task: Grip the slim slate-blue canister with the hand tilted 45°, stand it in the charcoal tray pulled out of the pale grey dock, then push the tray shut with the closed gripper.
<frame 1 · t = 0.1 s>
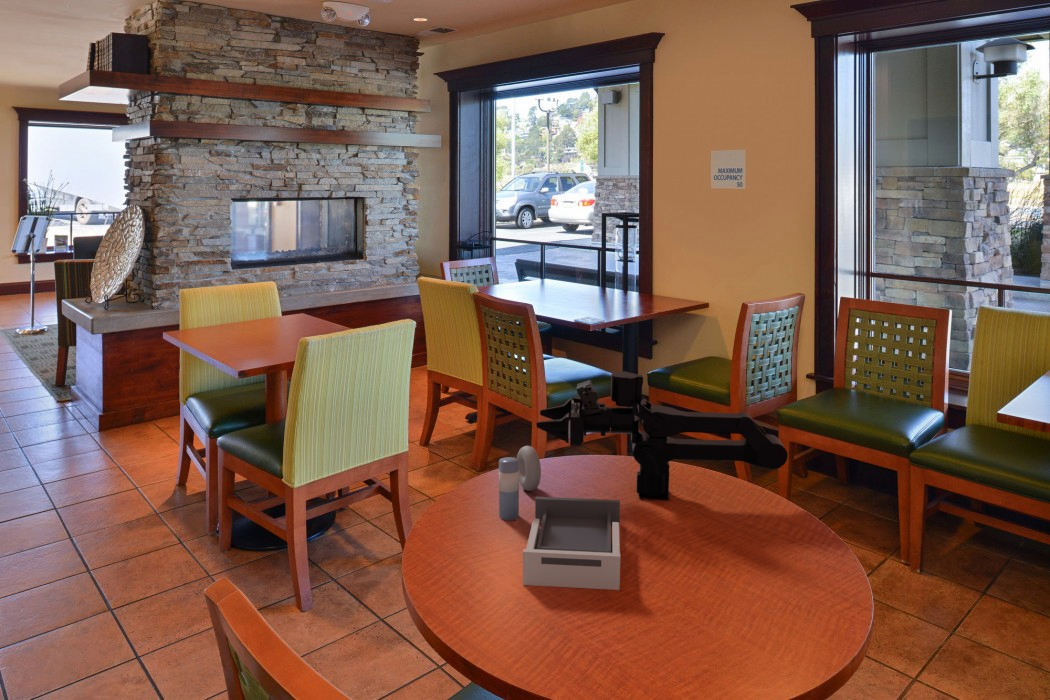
hand: (538, 418, 172), 17 cm above the table, tool horizontal, fingers open, 9 cm apart
dock: (573, 559, 142), on the table
canister: (509, 516, 161), on the table
donut: (528, 490, 176), on the table
tray: (575, 528, 149), point 3 cm above the table, slide at 7.0 cm
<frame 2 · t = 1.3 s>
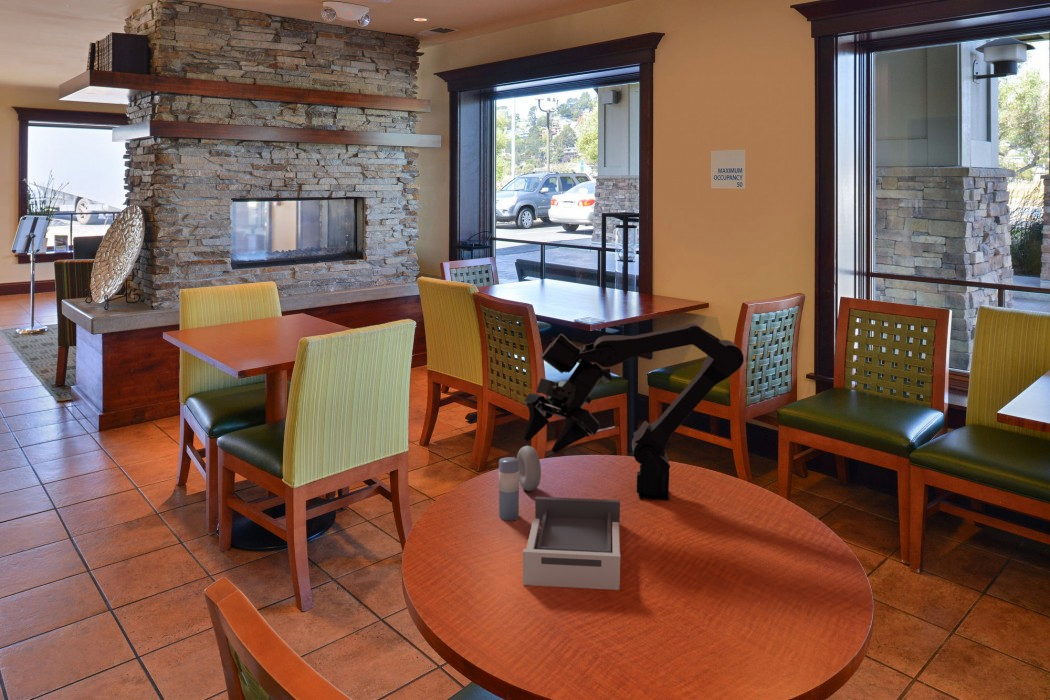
hand: (538, 446, 163), 13 cm above the table, tool tilted 45°, fingers open, 9 cm apart
nothing on the table moved.
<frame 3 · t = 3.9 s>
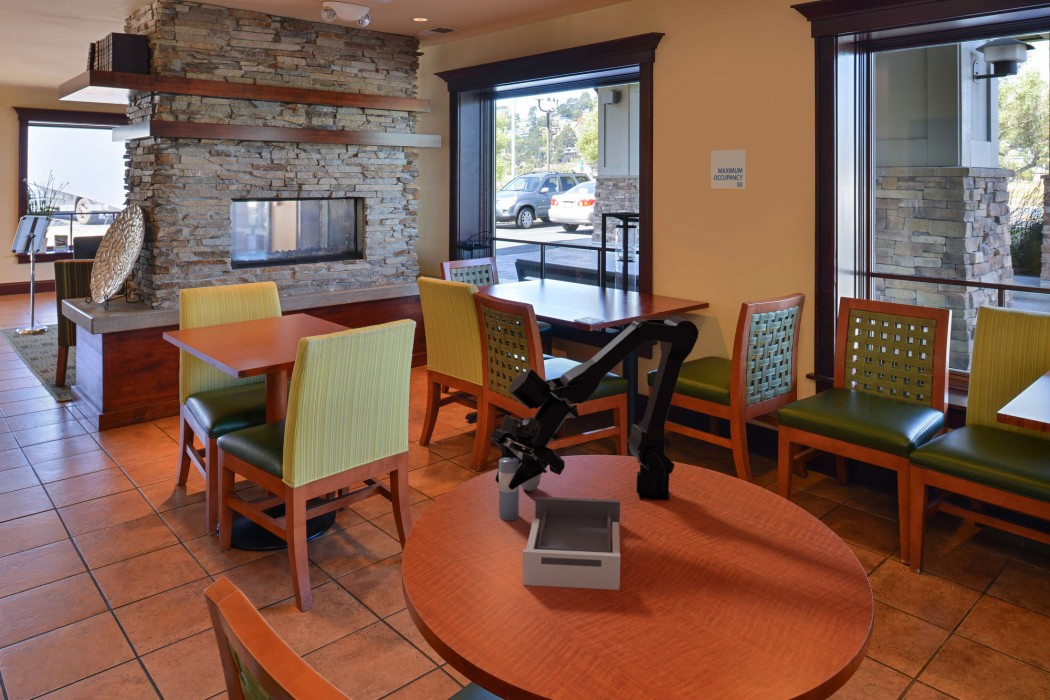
hand: (503, 485, 159), 7 cm above the table, tool tilted 45°, fingers closed on canister, 4 cm apart
canister: (509, 516, 161), on the table, touching gripper
everything else where it was.
when the fingers open (10 cm above the table, at t = 9.1 s): canister drops 1 cm, resting on tray.
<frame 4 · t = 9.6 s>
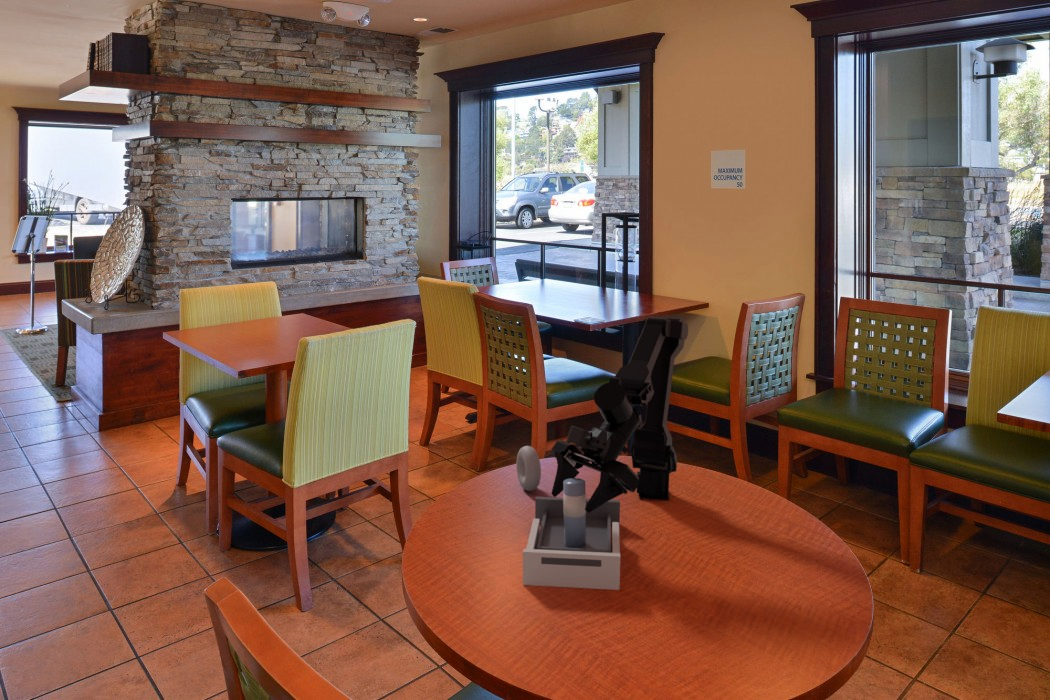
hand: (569, 503, 143), 10 cm above the table, tool tilted 45°, fingers open, 9 cm apart
canister: (574, 543, 146), point 1 cm above the table, touching tray
tray: (575, 528, 149), point 3 cm above the table, slide at 7.0 cm, touching canister
everything else where it was.
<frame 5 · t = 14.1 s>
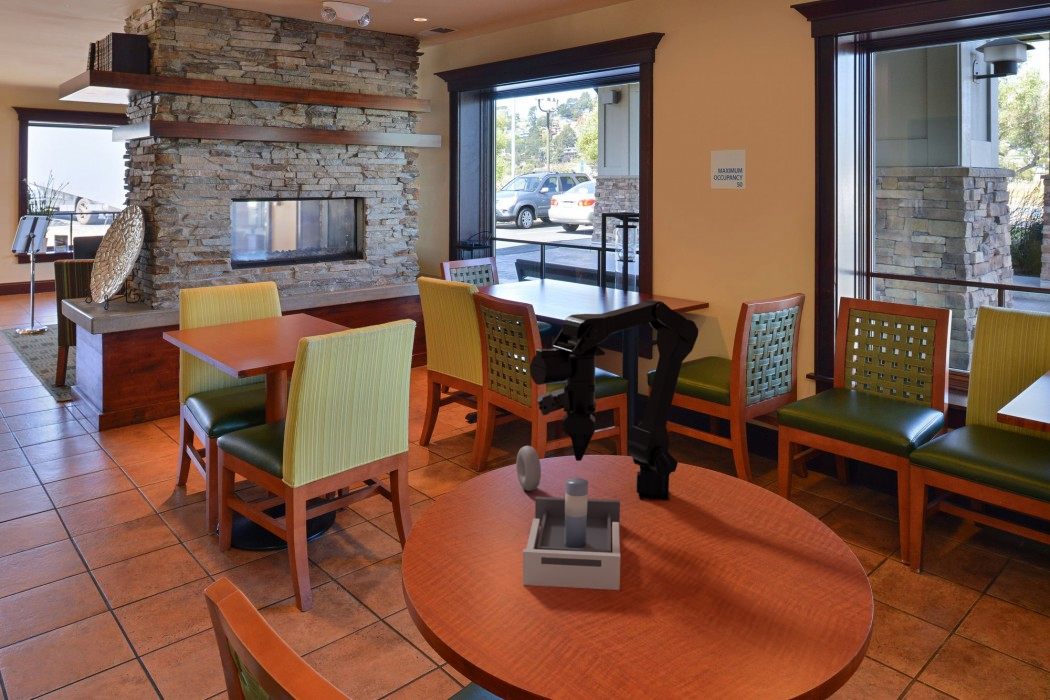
hand: (579, 453, 160), 13 cm above the table, tool pointing down, fingers open, 8 cm apart
nothing on the table moved.
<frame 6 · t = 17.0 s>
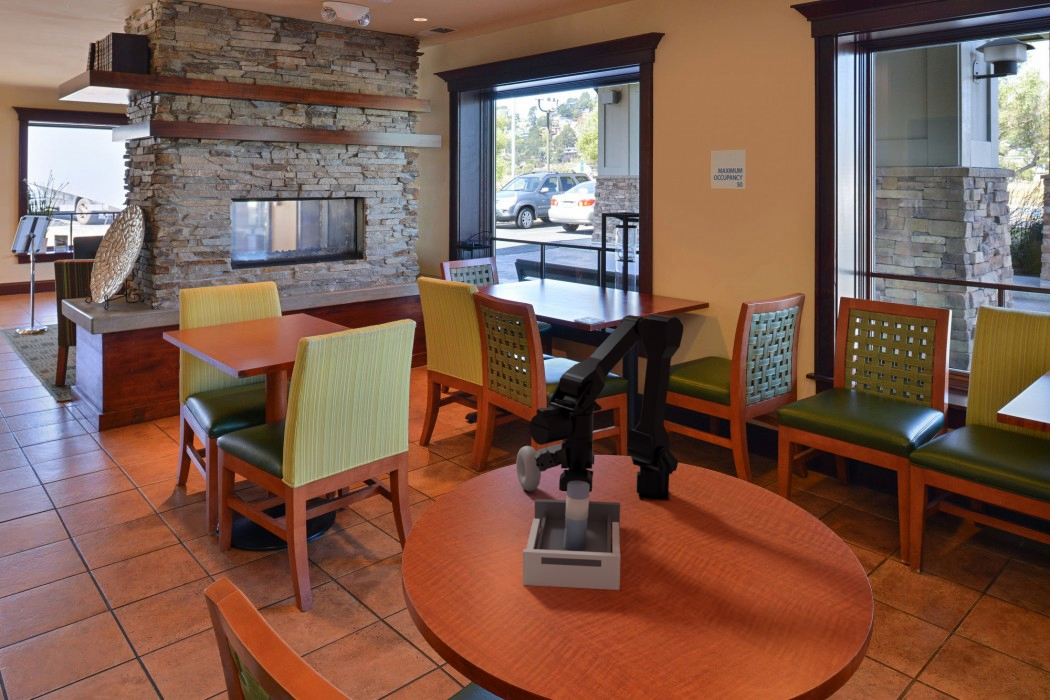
hand: (577, 509, 158), 3 cm above the table, tool pointing down, fingers closed
canister: (574, 546, 145), point 1 cm above the table, touching tray
tray: (575, 531, 148), point 3 cm above the table, slide at 5.7 cm, touching canister, gripper
everything else where it was.
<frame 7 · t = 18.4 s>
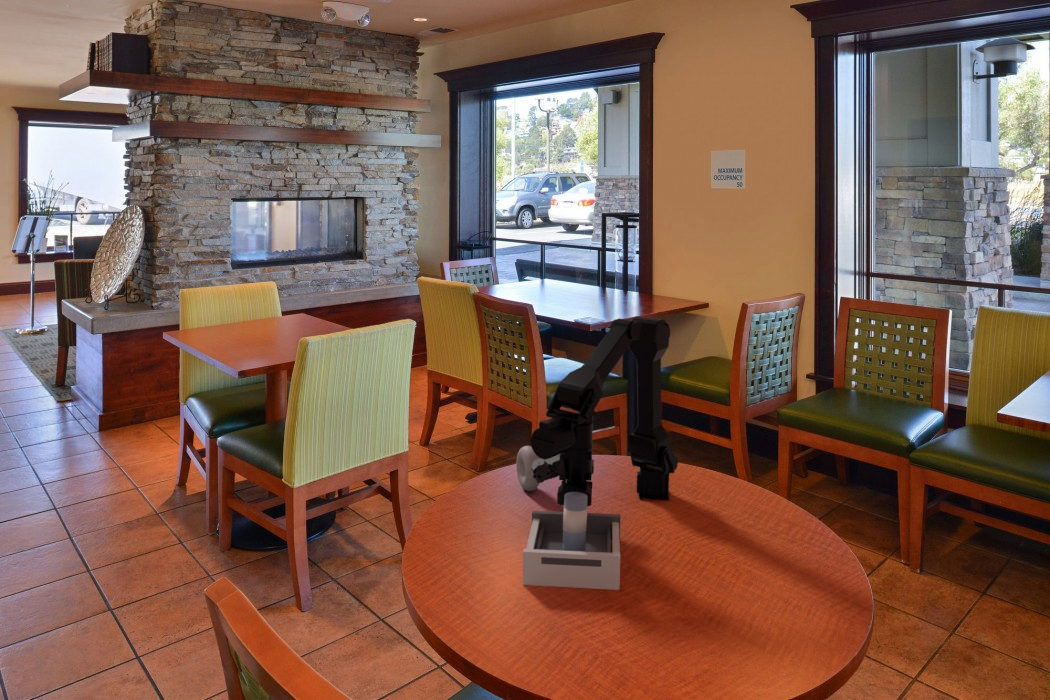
hand: (575, 521, 153), 3 cm above the table, tool pointing down, fingers closed
canister: (573, 560, 139), point 1 cm above the table, touching tray
tray: (573, 545, 142), point 3 cm above the table, slide at -0.1 cm, touching canister, gripper
everything else where it was.
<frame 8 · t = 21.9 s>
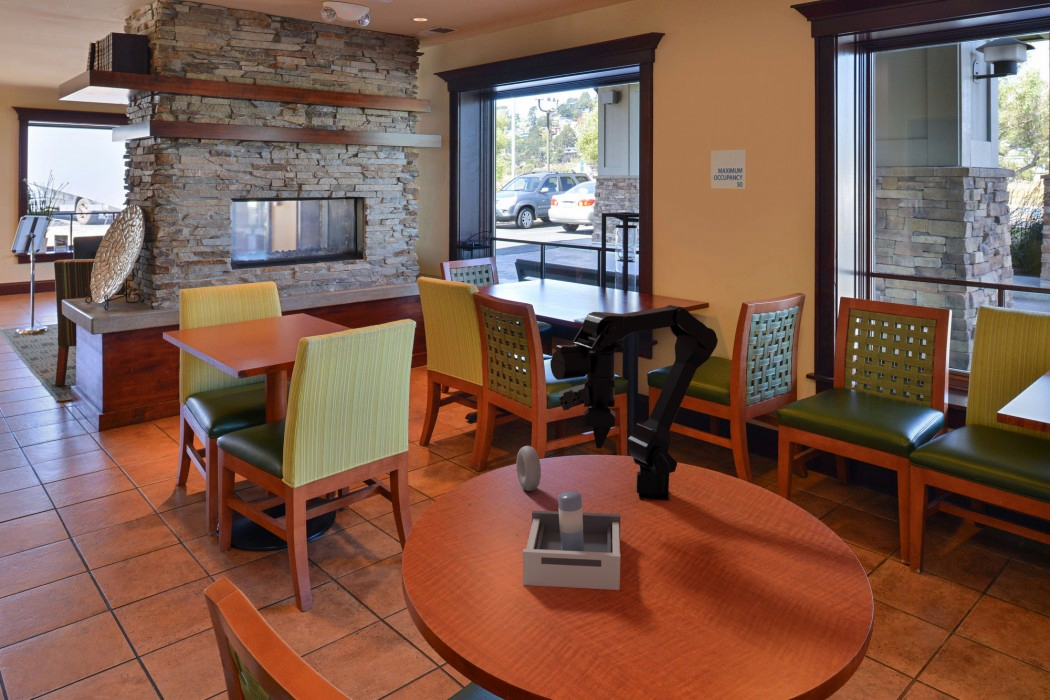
hand: (599, 447, 164), 13 cm above the table, tool pointing down, fingers closed
tray: (573, 544, 142), point 3 cm above the table, slide at 0.0 cm, touching canister
at the end: tray slide at 0.0 cm; canister inside the target area on the dock (2.6 cm from its centre), point 1.4 cm above the dock's base; canister tilted 4° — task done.
